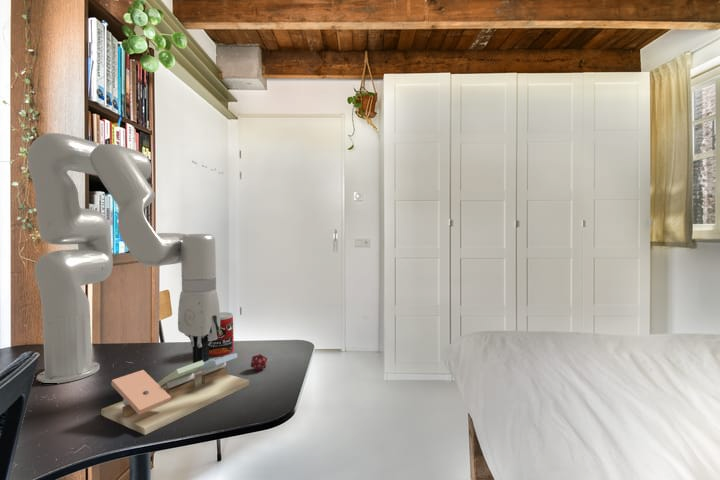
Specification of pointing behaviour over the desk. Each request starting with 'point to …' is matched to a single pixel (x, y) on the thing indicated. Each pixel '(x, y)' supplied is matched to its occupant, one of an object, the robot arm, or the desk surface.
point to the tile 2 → (180, 375)
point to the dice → (258, 362)
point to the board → (178, 401)
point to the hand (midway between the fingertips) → (200, 362)
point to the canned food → (223, 337)
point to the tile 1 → (140, 391)
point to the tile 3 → (216, 363)
